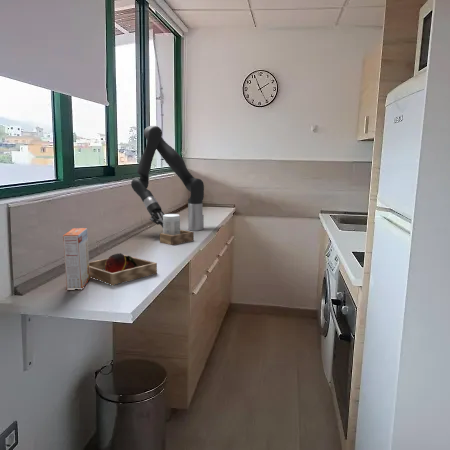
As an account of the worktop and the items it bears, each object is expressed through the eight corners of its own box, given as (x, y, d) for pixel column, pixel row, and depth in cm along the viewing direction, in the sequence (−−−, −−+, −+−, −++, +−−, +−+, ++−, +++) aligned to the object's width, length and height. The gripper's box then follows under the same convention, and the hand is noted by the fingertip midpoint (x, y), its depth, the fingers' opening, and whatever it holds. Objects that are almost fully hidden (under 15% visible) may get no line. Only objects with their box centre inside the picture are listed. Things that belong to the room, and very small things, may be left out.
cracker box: (75, 279, 172) (72, 227, 169) (90, 279, 173) (88, 227, 169) (65, 291, 158) (61, 234, 155) (82, 290, 159) (79, 234, 155)
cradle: (180, 238, 255) (180, 229, 254) (193, 240, 248) (193, 232, 247) (159, 242, 243) (159, 233, 242) (172, 245, 236) (172, 236, 235)
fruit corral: (124, 264, 195) (124, 254, 195) (156, 273, 181) (156, 263, 181) (80, 274, 179) (80, 264, 178) (112, 285, 165) (111, 274, 164)
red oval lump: (121, 288, 187) (95, 277, 176) (127, 262, 193) (102, 249, 182) (142, 286, 181) (116, 273, 170) (147, 258, 186) (123, 244, 175)
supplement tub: (178, 238, 253) (177, 213, 251) (182, 241, 245) (182, 216, 242) (161, 239, 250) (161, 214, 248) (165, 242, 241) (164, 216, 239)
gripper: (146, 202, 248) (160, 226, 242) (163, 200, 258) (178, 223, 252) (140, 210, 252) (154, 234, 247) (158, 208, 262) (171, 231, 256)
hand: (166, 228), depth 249 cm, fingers closed
